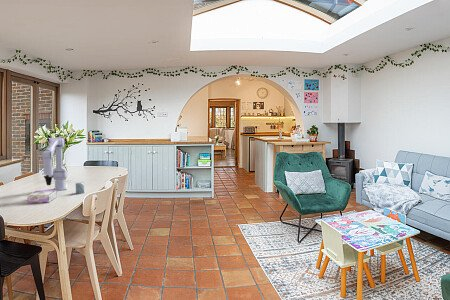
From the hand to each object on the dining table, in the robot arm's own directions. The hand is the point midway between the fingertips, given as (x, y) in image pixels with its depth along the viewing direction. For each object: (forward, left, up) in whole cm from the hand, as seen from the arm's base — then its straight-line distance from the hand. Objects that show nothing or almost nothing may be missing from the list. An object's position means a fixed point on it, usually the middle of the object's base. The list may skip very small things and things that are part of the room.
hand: (48, 185), depth 229 cm
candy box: (-1, -1, -7) cm, 7 cm away
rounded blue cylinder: (-2, +22, -9) cm, 24 cm away
